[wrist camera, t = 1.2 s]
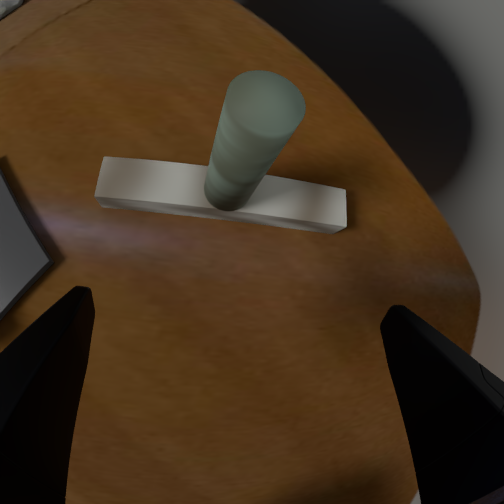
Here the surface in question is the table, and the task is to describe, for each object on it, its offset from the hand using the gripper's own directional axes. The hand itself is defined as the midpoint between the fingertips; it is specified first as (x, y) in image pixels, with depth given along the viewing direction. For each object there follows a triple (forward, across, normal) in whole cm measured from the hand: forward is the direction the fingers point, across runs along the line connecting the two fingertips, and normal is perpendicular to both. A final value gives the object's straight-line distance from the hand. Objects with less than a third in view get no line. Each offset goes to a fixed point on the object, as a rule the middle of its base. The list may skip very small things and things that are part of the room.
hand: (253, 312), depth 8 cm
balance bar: (+15, 0, +4) cm, 16 cm away
